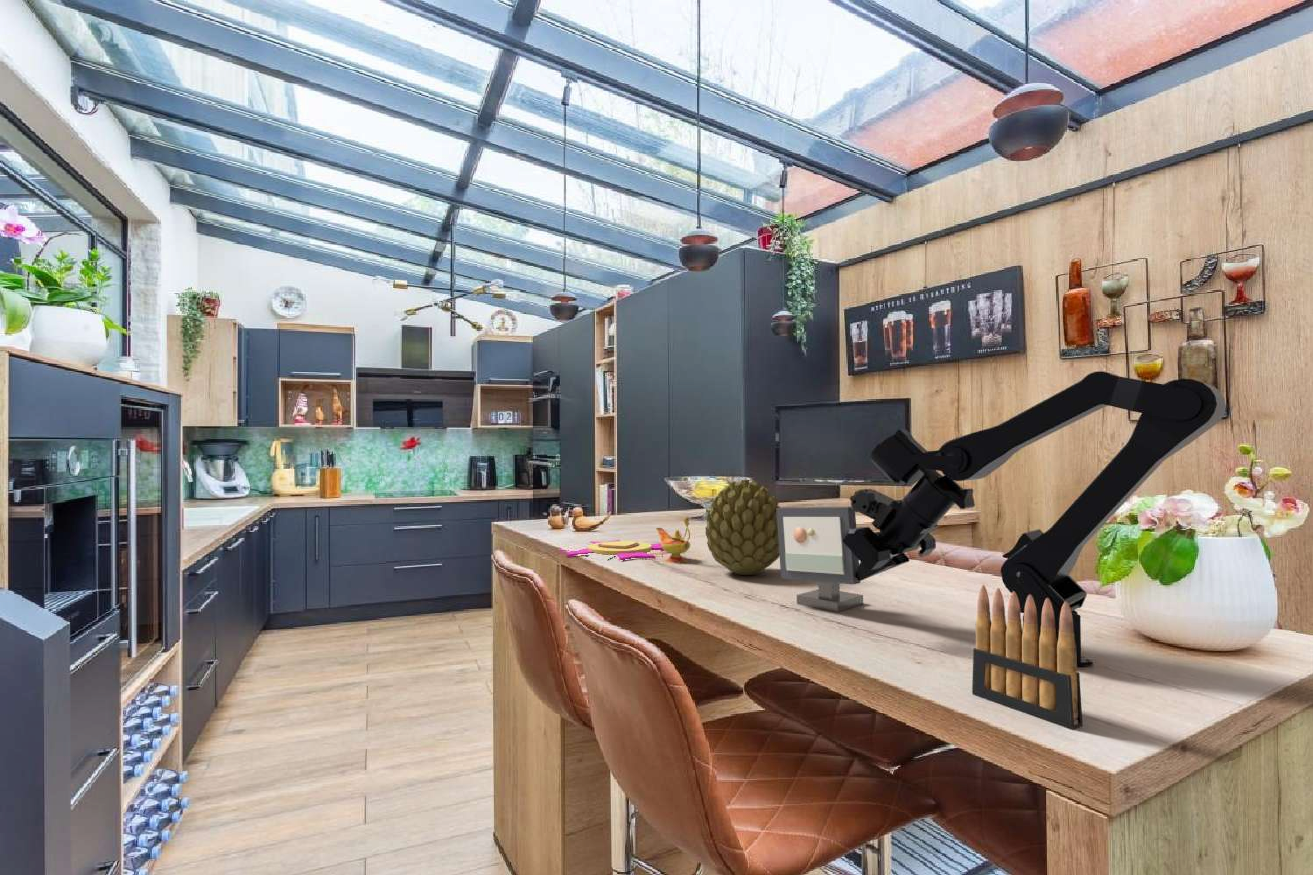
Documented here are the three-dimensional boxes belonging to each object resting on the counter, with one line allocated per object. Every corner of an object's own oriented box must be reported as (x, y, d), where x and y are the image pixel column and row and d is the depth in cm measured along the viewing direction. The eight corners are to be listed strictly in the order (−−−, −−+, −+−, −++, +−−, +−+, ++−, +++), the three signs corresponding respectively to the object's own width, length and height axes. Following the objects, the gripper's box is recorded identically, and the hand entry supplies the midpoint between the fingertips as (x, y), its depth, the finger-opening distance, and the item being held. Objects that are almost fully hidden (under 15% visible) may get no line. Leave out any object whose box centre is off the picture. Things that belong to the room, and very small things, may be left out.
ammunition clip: (971, 694, 73) (970, 584, 73) (982, 691, 74) (980, 582, 74) (1072, 730, 64) (1070, 604, 64) (1083, 726, 65) (1081, 602, 65)
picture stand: (863, 603, 114) (862, 522, 115) (836, 612, 109) (835, 526, 109) (823, 596, 120) (822, 518, 120) (796, 603, 115) (795, 522, 115)
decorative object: (765, 565, 152) (764, 477, 152) (800, 579, 136) (799, 480, 136) (695, 569, 147) (694, 478, 148) (722, 584, 131) (721, 482, 131)
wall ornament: (576, 555, 154) (551, 539, 183) (576, 566, 154) (551, 548, 183) (695, 548, 165) (654, 533, 193) (695, 557, 165) (654, 541, 193)
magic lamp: (669, 553, 170) (669, 509, 170) (703, 564, 153) (702, 516, 153) (644, 555, 167) (644, 511, 167) (676, 567, 150) (676, 518, 151)
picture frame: (860, 582, 105) (854, 506, 106) (852, 584, 104) (846, 507, 104) (788, 576, 116) (783, 507, 116) (779, 578, 114) (774, 508, 115)
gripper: (912, 468, 108) (855, 534, 115) (849, 472, 95) (790, 546, 103) (964, 518, 102) (901, 584, 109) (905, 530, 89) (838, 603, 97)
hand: (858, 578), depth 105 cm, fingers closed, pressing on picture frame
